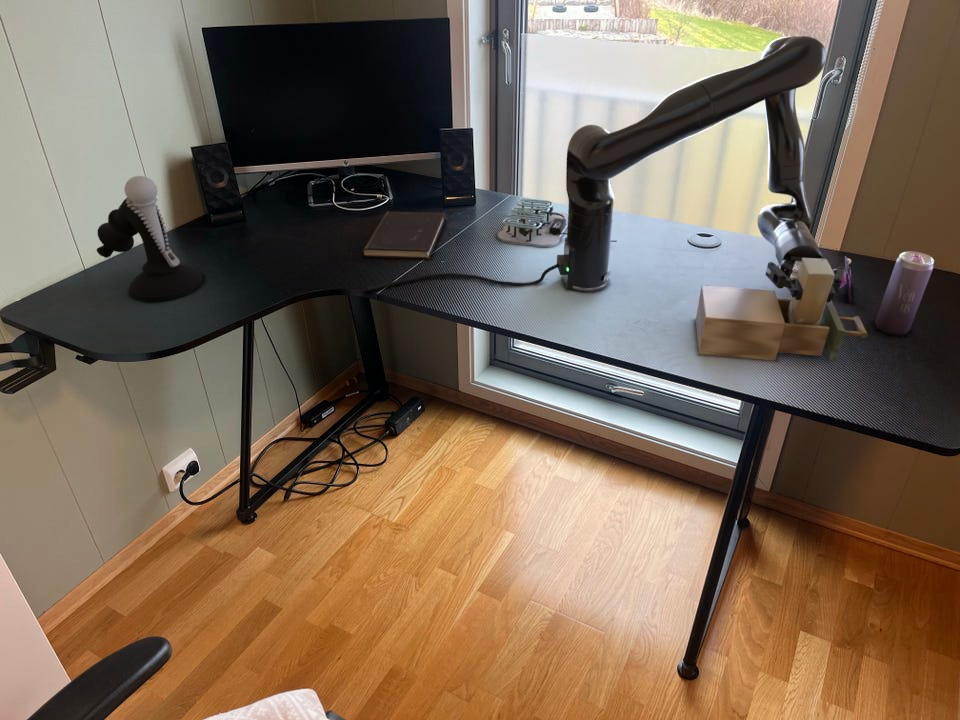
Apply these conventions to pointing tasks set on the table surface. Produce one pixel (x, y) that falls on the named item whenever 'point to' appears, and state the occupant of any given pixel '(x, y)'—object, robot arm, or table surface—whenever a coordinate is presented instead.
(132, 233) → the sculpture
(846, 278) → the purple figurine
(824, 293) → the cosmetic box
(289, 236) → the table surface
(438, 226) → the hardcover book
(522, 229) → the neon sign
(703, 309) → the cabinet
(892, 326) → the beverage can
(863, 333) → the drawer
